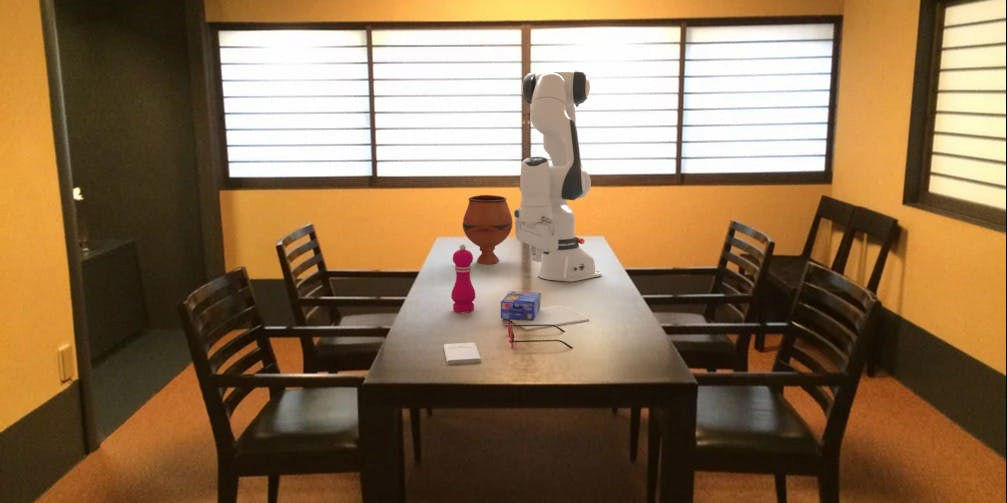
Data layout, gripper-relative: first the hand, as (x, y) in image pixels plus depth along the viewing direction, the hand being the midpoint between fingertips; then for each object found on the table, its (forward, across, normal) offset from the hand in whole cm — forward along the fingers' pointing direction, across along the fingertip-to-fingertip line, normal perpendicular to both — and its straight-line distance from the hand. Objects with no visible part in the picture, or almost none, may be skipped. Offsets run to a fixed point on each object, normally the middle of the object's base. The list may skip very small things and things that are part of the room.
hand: (536, 260), depth 220 cm
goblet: (+17, +68, -15) cm, 71 cm away
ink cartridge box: (+12, +4, +2) cm, 13 cm away
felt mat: (+15, -6, +1) cm, 17 cm away
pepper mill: (+15, +12, +19) cm, 27 cm away
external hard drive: (+15, -24, +34) cm, 45 cm away
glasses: (+16, -23, +12) cm, 31 cm away
